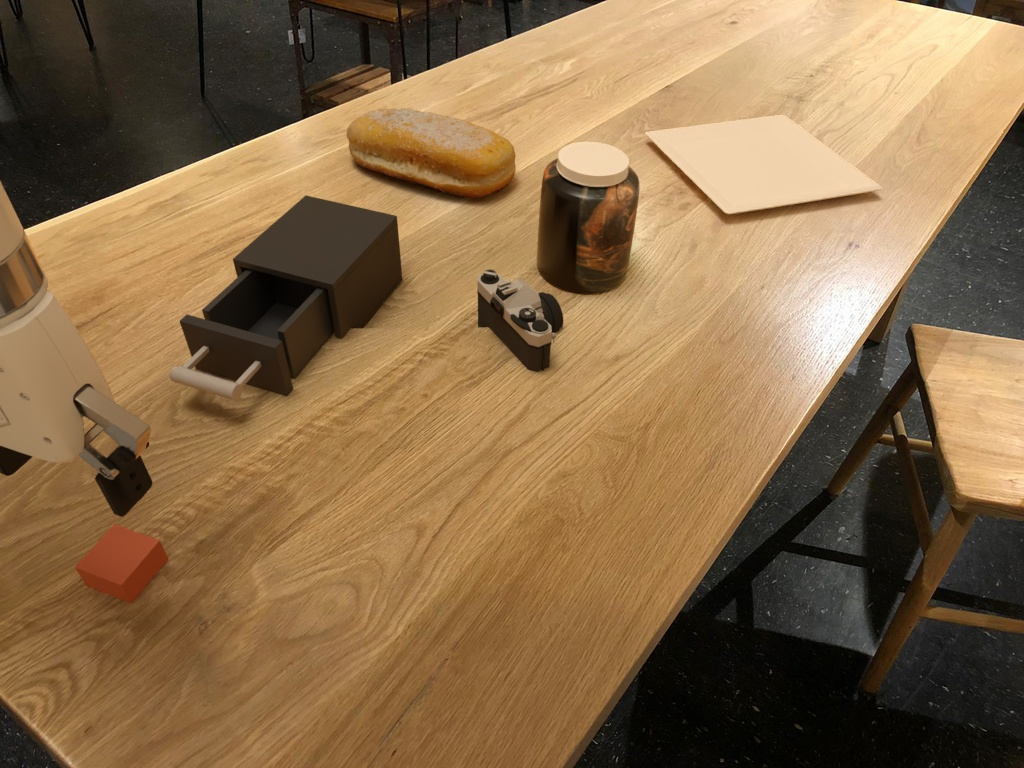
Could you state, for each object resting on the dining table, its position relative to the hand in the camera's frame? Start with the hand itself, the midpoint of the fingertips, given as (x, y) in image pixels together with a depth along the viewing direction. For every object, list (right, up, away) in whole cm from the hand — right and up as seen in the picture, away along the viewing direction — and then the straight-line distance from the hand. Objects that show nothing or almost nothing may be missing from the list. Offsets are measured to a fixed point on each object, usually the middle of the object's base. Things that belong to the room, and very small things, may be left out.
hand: (77, 480), depth 53 cm
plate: (+68, +40, +65) cm, 102 cm away
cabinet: (+9, +16, +38) cm, 42 cm away
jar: (+39, +22, +44) cm, 63 cm away
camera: (+32, +11, +33) cm, 47 cm away
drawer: (+4, +9, +28) cm, 30 cm away
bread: (+18, +38, +61) cm, 75 cm away
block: (-1, -10, +9) cm, 13 cm away
